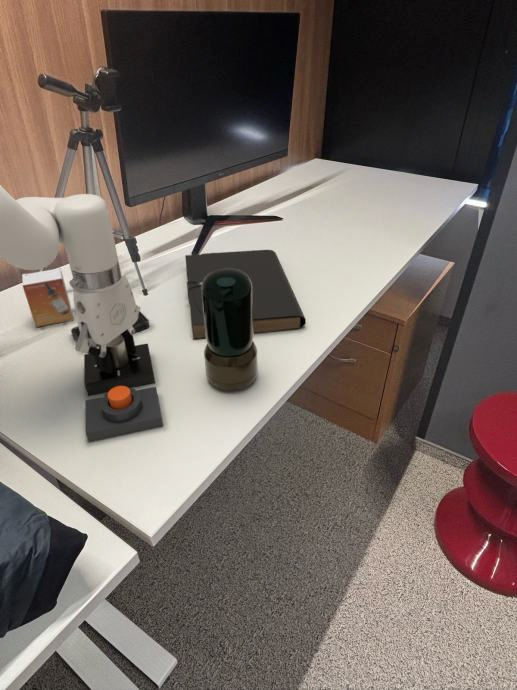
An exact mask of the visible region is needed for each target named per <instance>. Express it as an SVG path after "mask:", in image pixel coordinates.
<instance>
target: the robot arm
mask: <svg viewBox="0 0 517 690" xmlns="http://www.w3.org/2000/svg"><path fill="white" fill-rule="evenodd" d="M60 244H62V245H63V247H64V249H65V253H66V258H67V261H68V264H69V269H70V272H71V276H72V279H71V280H69V282H68V283H69V286H70V287H71V288H72V290H73V291H72V292H73V294H72V295H73V306H74V312H75V313H74V314H75V318H76V322H77V326H78V327H79V330H80V335H79V338H78V341H77V342H76V343H75V347H74V350H75V351H76V352H79V353H84V354H92V355H94V358H95V361H96V365H97V368H98V369H99V370H102V371H105V372H107V373H112V372H113V368H112V364H111V360H110V356H109V354H107V353H106V344H108V343H109V342H111V341H112V340H113V339H115V338H116V337H117V336H119V335H122V336H123V337H124V341H125V345H126V350H127V353H130V354H135V353H136V348H135V346H136V344H135V338H134V335H135V333H136V332H135V329H134V326H135V324H136V321H137V319H138V314H139V311H140V312H141V307H140V306H139V305H137V304H136V299H135V296H134V293H133V289H132V287H131V283H130V282H129V280H128V278H127V275H126V274H125V272H124V271H123V270H121V267H120V262H119V261H120V260H119V256H118V252H117V246H116V242H115V236H114V232H113V227H112V222H111V216H110V213H109V207H108V204H107V202H106V201H105V199H104V198H102V197H101V196H100V195H96V194H91V193H79V194H72V195H69V196H66V197H48V196H47V197H44V196H25V197H20V198H18V199H15V198H14V197H12V195H11V194H10V193H8V192H7V190H6V189H5V188H4V187H3V186H2V185H1V184H0V259H2V260H3V261H4V262H6V263H8V264H10V265H11V266H13V267H16V268H18V269H21V270H25V271H39V270H42V269H45V268H47V267H49V266H50V265H51V264H53V262H54V261H55V260H56V258H57V256H58V255H59V250H60ZM89 339H90V344H89V346H88V342H89ZM97 344H99V345H98V346H97Z"/></svg>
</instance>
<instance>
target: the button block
mask: <svg viewBox="0 0 517 690" xmlns="http://www.w3.org/2000/svg"><path fill="white" fill-rule="evenodd" d="M129 389H130V392H131V397H132V403H131V404H130V405H129V406H128V407H126V408H123V409H113V408H112V407H111V406H110V403H109V399H108V393H104V395H103V396H101V397H95V398H90V399H85V401H84V402H85V403H84V404H85V405H84V406H85V407H84V408H85V411H84V412H85V435H86V439H87V442H88V443H92V442H97V441H103V440H106V439H111V438H115V437H120V436H124V435H129V434H130V435H131V434H134V433H138V432H144V431H148V430H153V429H157V428H162V427H164V422H163V416H162V412H161V411H162V410H161V406H160V400H159V396H158V395H159V394H158V391H157V390H158V389H157V386H152V387H146V388H141V389H135V388H129Z"/></svg>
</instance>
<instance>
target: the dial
mask: <svg viewBox="0 0 517 690" xmlns="http://www.w3.org/2000/svg"><path fill="white" fill-rule="evenodd" d="M106 353H107V354H109V356H110V360H111V364H112V368H113V369H118V368H122V367H124V366H125V365H127V363H128V361H129V359H128V355H127V350H126V345H125V341H124V337H123V336H122V335H119V336H117V337H116V338H115V339H113V340H112V341H111V342H109V343H108V344H106Z"/></svg>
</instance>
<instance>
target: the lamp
mask: <svg viewBox="0 0 517 690" xmlns="http://www.w3.org/2000/svg"><path fill="white" fill-rule="evenodd" d="M201 293H202V303H203V314H204V325H205V335H206V338H205V340H206V344H205V347H204V349H203V358H204V367H205V376H206V379H207V380H208V382H209V383H210V384H211V385H212V386H214V387H215V388H217V389H220V390H224V391H237V390H241V389H244V388H246V387H248V386H249V385H251V384H253V382H254V381H255V379H256V378H257V376H258V348H257V345H256V344H255V342H254V334H255V333H254V326H253V286H252V282H251V280H250V278H249V277H248V275H247V274H246V273H244V272H243V271H241V270H239V269H236V268H231V267H224V268H219V269H216V270H213V271H212V272H210V273H209V274H208V275H207V276H206V277H205V278H204V280H203V282H202V286H201Z"/></svg>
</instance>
